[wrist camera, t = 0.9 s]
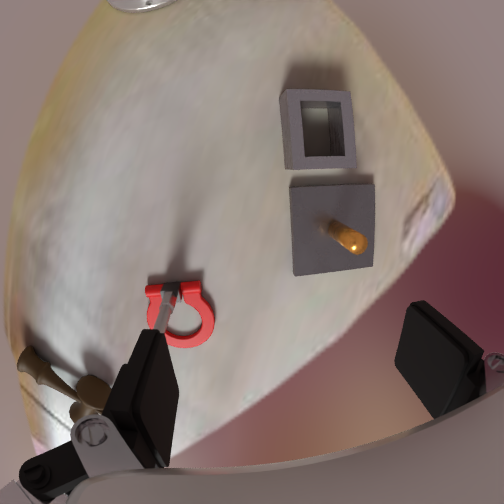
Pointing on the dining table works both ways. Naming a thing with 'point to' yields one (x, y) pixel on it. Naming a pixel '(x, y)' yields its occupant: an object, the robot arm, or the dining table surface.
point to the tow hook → (164, 304)
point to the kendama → (88, 387)
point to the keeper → (332, 227)
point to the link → (338, 126)
